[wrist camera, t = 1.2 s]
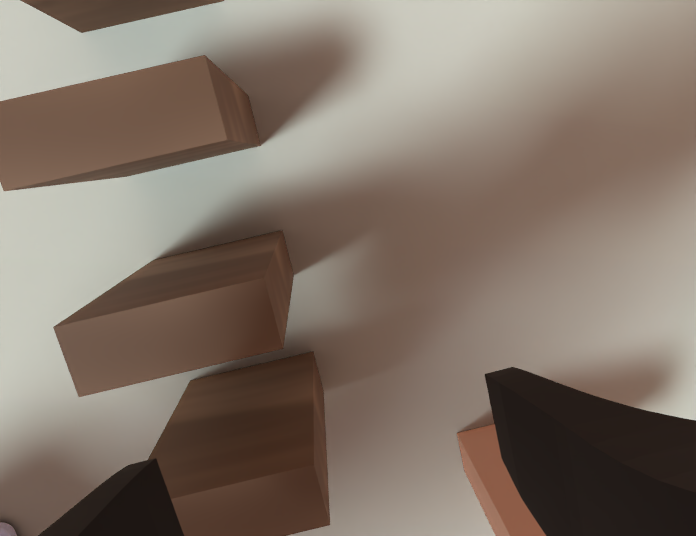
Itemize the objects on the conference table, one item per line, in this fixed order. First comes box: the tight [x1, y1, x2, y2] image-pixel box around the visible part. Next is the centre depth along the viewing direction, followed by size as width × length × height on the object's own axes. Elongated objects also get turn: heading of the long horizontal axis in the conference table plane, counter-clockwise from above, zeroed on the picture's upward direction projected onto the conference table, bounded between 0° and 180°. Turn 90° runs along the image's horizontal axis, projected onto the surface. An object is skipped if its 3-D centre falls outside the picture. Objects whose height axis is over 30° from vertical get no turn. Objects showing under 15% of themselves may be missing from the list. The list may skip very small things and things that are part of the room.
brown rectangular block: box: [148, 352, 330, 536], centre depth 18 cm, size 2×5×8 cm, turn 103°
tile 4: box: [0, 55, 261, 191], centre depth 16 cm, size 2×5×8 cm, turn 103°
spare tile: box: [457, 424, 546, 536], centre depth 19 cm, size 2×5×8 cm, turn 102°
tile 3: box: [53, 230, 294, 397], centre depth 17 cm, size 2×5×8 cm, turn 103°
